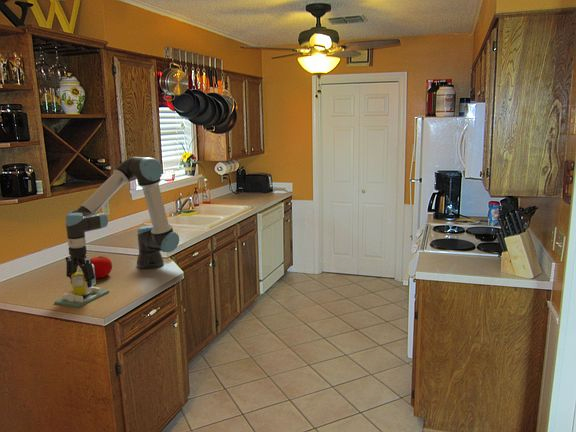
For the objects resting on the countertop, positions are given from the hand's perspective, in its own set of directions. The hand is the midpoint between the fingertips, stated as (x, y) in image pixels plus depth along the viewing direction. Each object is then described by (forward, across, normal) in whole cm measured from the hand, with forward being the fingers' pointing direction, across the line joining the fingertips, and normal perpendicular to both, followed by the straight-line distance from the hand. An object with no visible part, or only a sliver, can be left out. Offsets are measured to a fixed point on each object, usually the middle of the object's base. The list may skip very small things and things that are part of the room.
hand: (82, 292), depth 223 cm
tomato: (+3, -14, +27) cm, 30 cm away
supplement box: (+1, 0, 0) cm, 1 cm away
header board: (+3, 0, 0) cm, 3 cm away
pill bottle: (+3, -10, +14) cm, 17 cm away
